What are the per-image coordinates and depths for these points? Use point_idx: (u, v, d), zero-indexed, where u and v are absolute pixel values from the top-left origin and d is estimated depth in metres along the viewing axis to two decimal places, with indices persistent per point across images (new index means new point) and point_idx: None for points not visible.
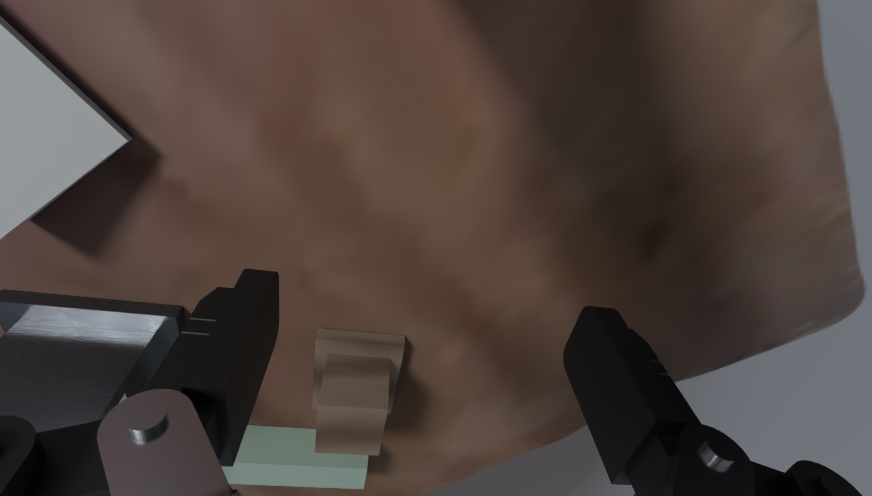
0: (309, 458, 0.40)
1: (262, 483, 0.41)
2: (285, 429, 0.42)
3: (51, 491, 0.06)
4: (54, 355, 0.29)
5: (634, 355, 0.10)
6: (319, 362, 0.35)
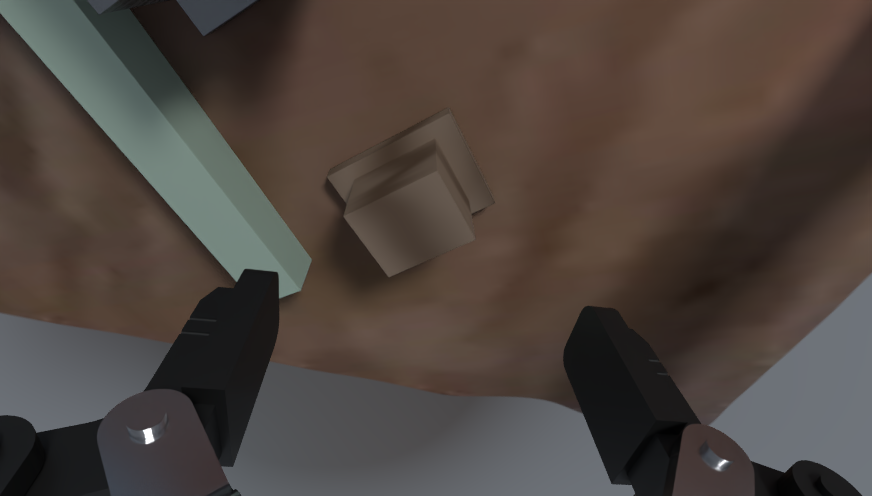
0: (258, 226, 0.29)
1: (169, 199, 0.27)
2: (247, 173, 0.29)
3: (51, 491, 0.06)
4: None
5: (634, 355, 0.10)
6: (414, 138, 0.27)
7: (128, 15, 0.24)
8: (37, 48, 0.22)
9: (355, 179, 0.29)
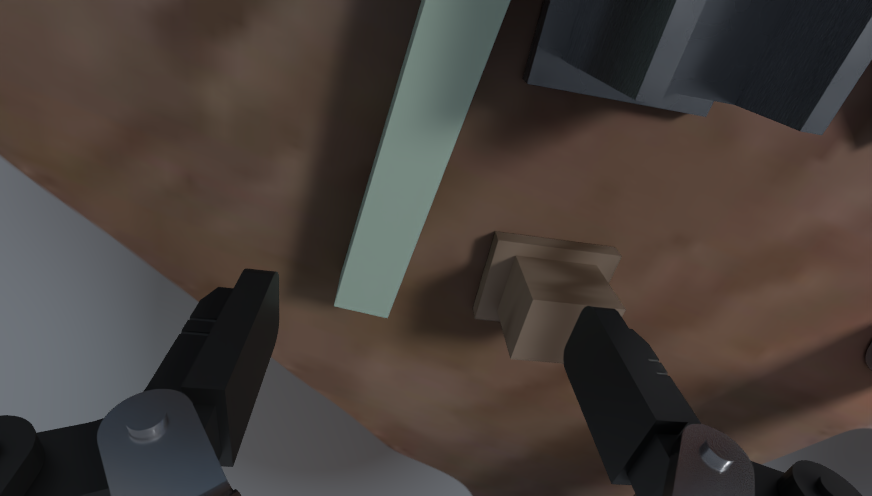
0: None
1: (377, 180, 0.24)
2: None
3: (51, 491, 0.06)
4: None
5: (634, 355, 0.10)
6: (584, 256, 0.30)
7: None
8: None
9: (516, 255, 0.30)
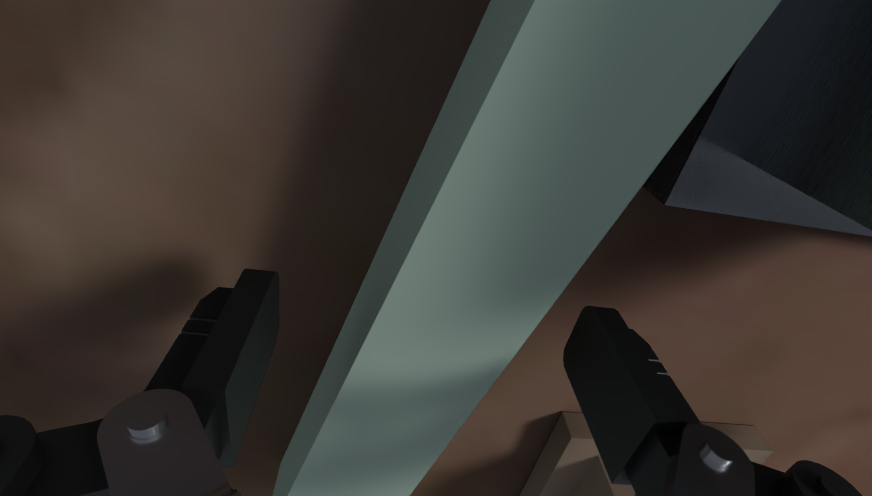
0: None
1: (347, 400, 0.11)
2: None
3: (51, 491, 0.06)
4: None
5: (634, 355, 0.10)
6: None
7: None
8: (528, 49, 0.07)
9: (598, 455, 0.18)
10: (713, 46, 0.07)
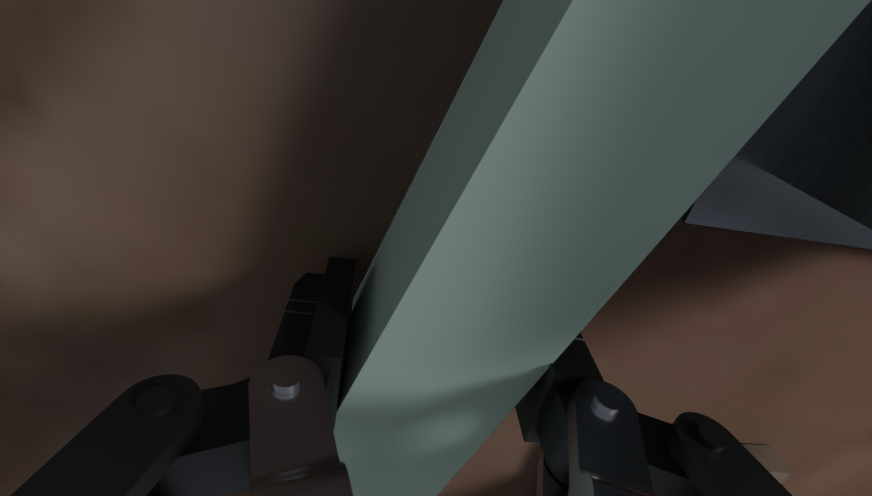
0: None
1: None
2: None
3: (201, 454, 0.07)
4: None
5: None
6: None
7: None
8: (556, 67, 0.06)
9: None
10: (769, 70, 0.06)
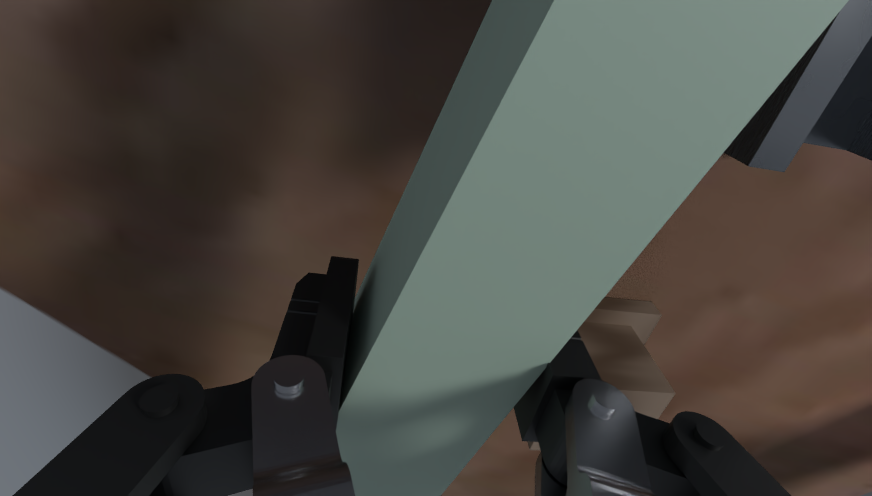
0: None
1: None
2: None
3: (204, 453, 0.07)
4: None
5: None
6: (616, 316, 0.25)
7: None
8: (542, 63, 0.06)
9: None
10: (760, 59, 0.06)
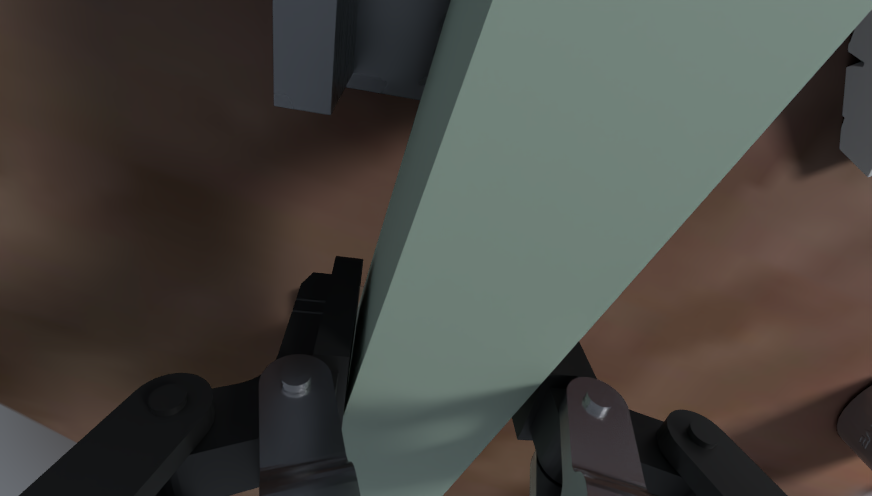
0: None
1: None
2: None
3: (212, 453, 0.07)
4: None
5: None
6: None
7: None
8: (478, 110, 0.05)
9: None
10: (762, 74, 0.05)
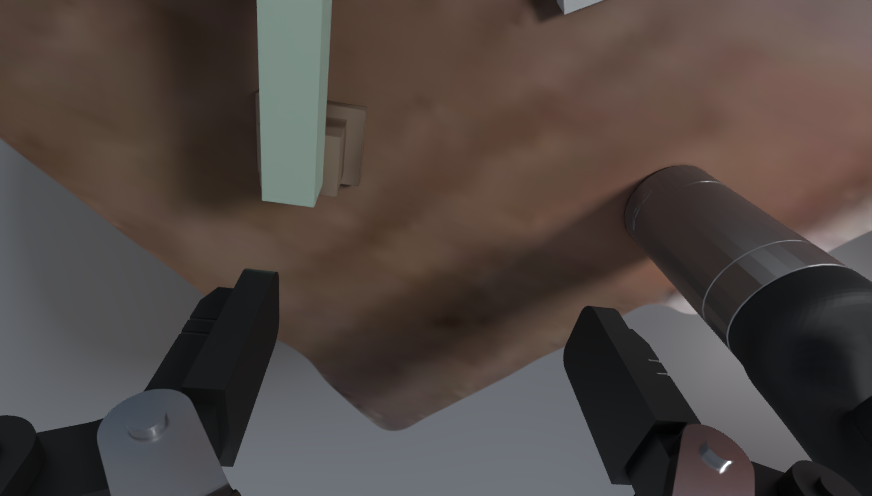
0: (318, 132, 0.30)
1: (263, 62, 0.26)
2: (326, 83, 0.30)
3: (51, 491, 0.06)
4: None
5: (634, 355, 0.10)
6: (333, 110, 0.37)
7: None
8: None
9: None
10: None
